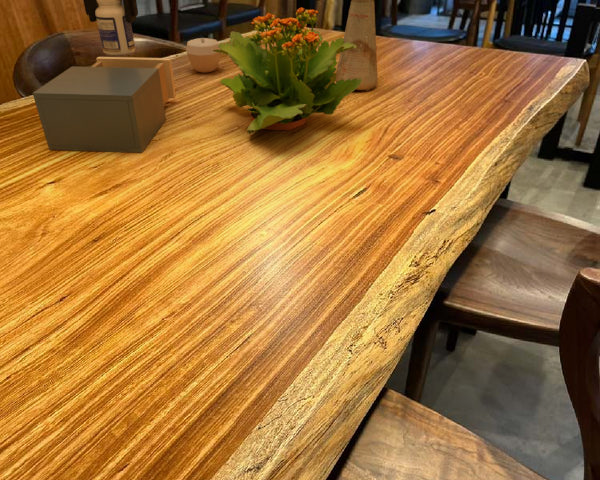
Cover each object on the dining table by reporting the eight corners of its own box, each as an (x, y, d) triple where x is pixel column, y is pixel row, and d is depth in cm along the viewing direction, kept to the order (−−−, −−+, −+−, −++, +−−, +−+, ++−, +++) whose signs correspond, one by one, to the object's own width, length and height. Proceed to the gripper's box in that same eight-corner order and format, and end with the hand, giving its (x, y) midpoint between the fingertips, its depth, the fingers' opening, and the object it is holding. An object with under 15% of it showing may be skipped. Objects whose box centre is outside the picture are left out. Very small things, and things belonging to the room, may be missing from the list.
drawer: (113, 88, 105) (106, 50, 101) (181, 89, 105) (176, 52, 100) (79, 119, 91) (69, 77, 87) (156, 121, 90) (150, 79, 86)
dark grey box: (84, 117, 94) (71, 66, 89) (166, 120, 94) (158, 68, 88) (49, 150, 83) (32, 92, 77) (142, 152, 82) (131, 95, 77)
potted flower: (181, 118, 94) (167, 6, 84) (279, 90, 108) (277, -10, 97) (279, 159, 81) (277, 31, 70) (377, 121, 94) (387, 9, 83)
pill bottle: (127, 46, 93) (117, -12, 88) (141, 52, 90) (131, -8, 85) (98, 51, 90) (85, -9, 85) (111, 57, 87) (99, -5, 82)
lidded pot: (217, 76, 115) (214, 43, 111) (182, 74, 116) (178, 41, 112) (227, 66, 121) (225, 35, 117) (194, 65, 122) (190, 33, 118)
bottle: (329, 90, 108) (336, -80, 91) (341, 78, 115) (349, -82, 97) (371, 95, 106) (386, -79, 89) (380, 82, 112) (396, -81, 95)
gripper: (153, -120, 79) (171, 17, 90) (40, -121, 79) (71, 15, 91) (138, -121, 73) (159, 26, 84) (16, -122, 74) (52, 24, 85)
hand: (113, 19), depth 87 cm, fingers closed on pill bottle, 5 cm apart
